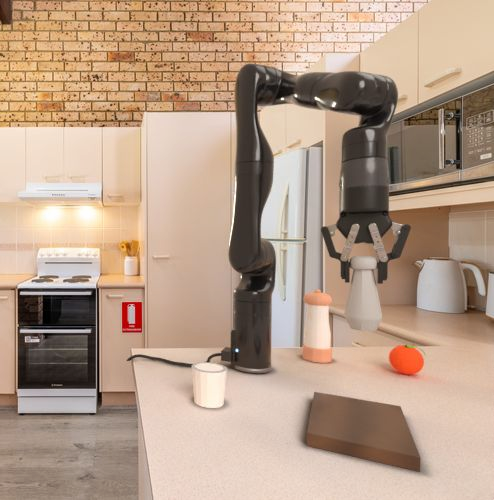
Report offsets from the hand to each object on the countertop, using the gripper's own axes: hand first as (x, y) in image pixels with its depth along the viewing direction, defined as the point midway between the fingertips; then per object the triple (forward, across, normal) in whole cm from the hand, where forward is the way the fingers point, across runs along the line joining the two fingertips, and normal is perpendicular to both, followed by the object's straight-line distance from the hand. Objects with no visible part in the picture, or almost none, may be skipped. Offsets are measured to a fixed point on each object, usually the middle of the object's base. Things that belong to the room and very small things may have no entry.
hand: (363, 282), depth 70 cm
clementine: (+25, -11, -35) cm, 45 cm away
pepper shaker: (+24, +8, -39) cm, 46 cm away
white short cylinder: (+24, +26, +6) cm, 36 cm away
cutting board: (+24, +1, +6) cm, 25 cm away
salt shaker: (+8, 0, 0) cm, 8 cm away
